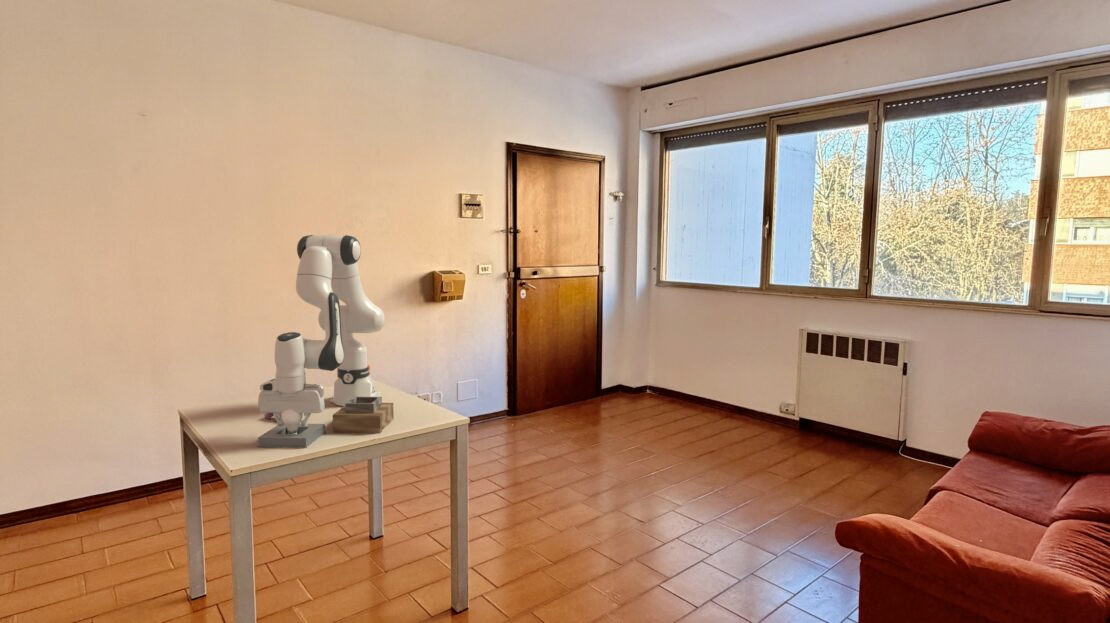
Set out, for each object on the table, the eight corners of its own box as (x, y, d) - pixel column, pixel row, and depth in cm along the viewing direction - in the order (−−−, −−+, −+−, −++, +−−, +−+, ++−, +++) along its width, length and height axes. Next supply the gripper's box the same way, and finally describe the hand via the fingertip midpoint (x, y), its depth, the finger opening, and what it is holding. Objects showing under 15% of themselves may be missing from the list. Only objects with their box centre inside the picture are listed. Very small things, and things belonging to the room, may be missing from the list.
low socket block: (280, 431, 201) (280, 423, 201) (325, 432, 201) (324, 423, 201) (258, 446, 187) (257, 437, 186) (306, 447, 186) (306, 438, 186)
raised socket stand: (349, 418, 218) (349, 394, 217) (393, 418, 218) (393, 394, 217) (333, 432, 202) (332, 406, 201) (380, 432, 202) (379, 406, 201)
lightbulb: (277, 441, 192) (276, 407, 191) (291, 435, 198) (290, 402, 197) (294, 443, 190) (292, 409, 189) (307, 437, 196) (306, 404, 195)
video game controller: (290, 425, 214) (297, 406, 216) (279, 423, 210) (287, 403, 212) (272, 421, 218) (279, 402, 220) (262, 418, 215) (269, 399, 217)
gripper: (327, 381, 195) (328, 423, 197) (264, 381, 195) (266, 422, 197) (319, 386, 189) (320, 429, 190) (254, 385, 189) (256, 428, 190)
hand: (292, 425), depth 193 cm, fingers open, 6 cm apart
